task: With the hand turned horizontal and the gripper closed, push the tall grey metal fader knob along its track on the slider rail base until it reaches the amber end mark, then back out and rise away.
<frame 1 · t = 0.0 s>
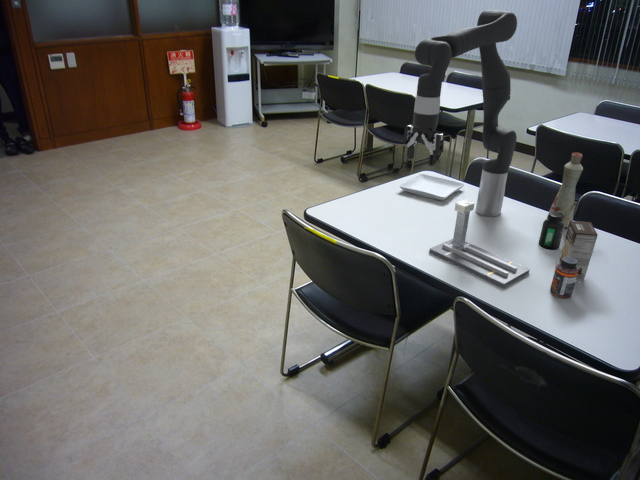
hand: (420, 161, 166), 29 cm above the table, tool pointing down, fingers open, 8 cm apart
supplement bottle: (548, 246, 181), on the table
fader: (461, 226, 170), point 10 cm above the table, slide at 0.0 cm
coffee box: (570, 273, 164), on the table
supplement bottle 2: (560, 294, 153), on the table
bottle: (558, 224, 197), on the table
slider rail base: (477, 262, 169), on the table
salad plate: (431, 192, 225), on the table
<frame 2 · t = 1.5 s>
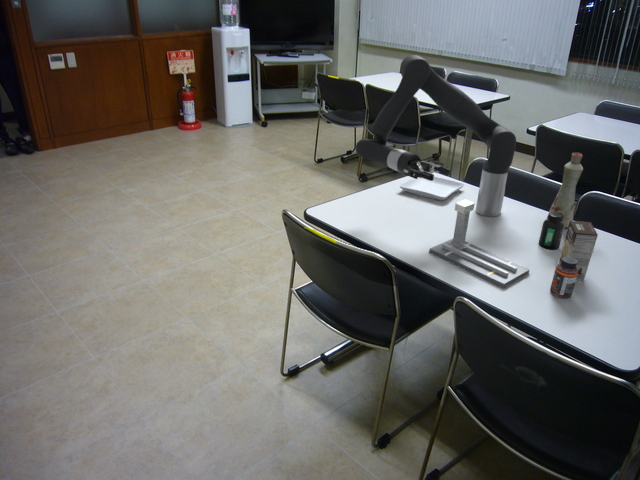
hand: (441, 175, 170), 24 cm above the table, tool horizontal, fingers open, 8 cm apart
nothing on the table moved.
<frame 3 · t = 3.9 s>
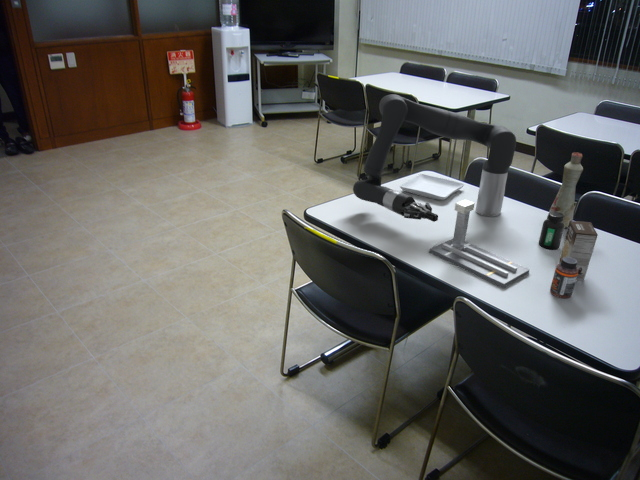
hand: (436, 218, 177), 9 cm above the table, tool horizontal, fingers closed
nothing on the table moved.
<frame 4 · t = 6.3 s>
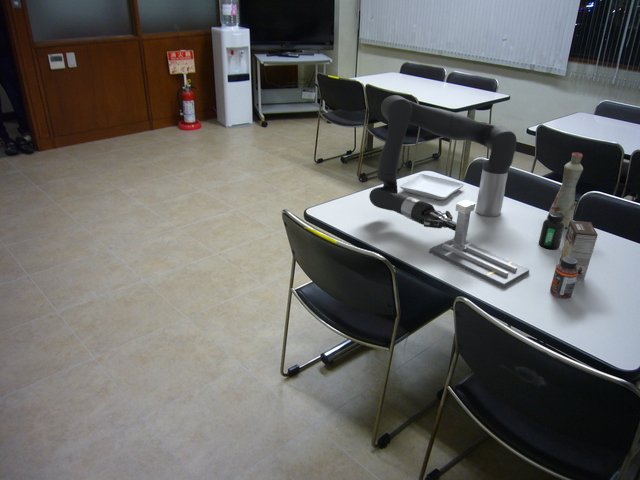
hand: (457, 227, 171), 9 cm above the table, tool horizontal, fingers closed
fader: (462, 226, 169), point 10 cm above the table, slide at 0.3 cm, touching gripper
everything else where it was.
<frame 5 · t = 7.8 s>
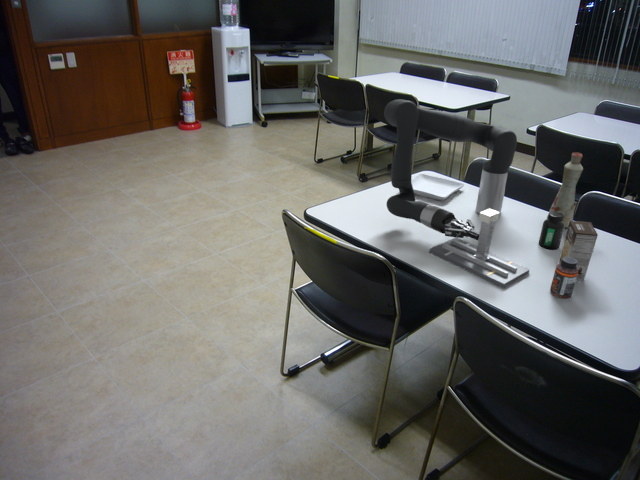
hand: (480, 237, 165), 9 cm above the table, tool horizontal, fingers closed
fader: (485, 236, 163), point 10 cm above the table, slide at 9.1 cm, touching gripper
everything else where it was.
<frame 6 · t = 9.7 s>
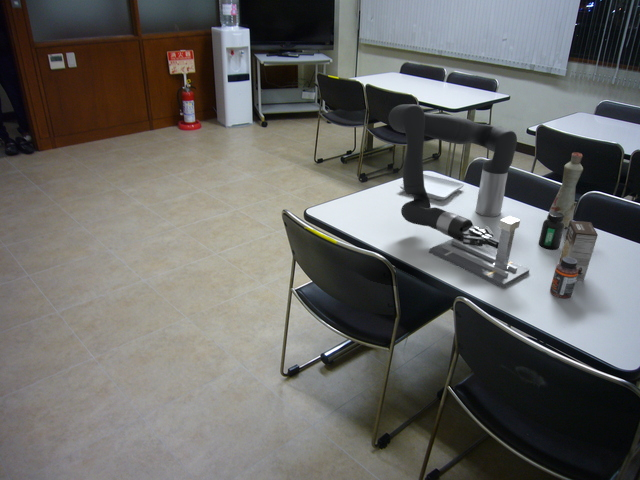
hand: (500, 245, 160), 9 cm above the table, tool horizontal, fingers closed
fader: (505, 244, 159), point 10 cm above the table, slide at 16.1 cm, touching gripper
everything else where it was.
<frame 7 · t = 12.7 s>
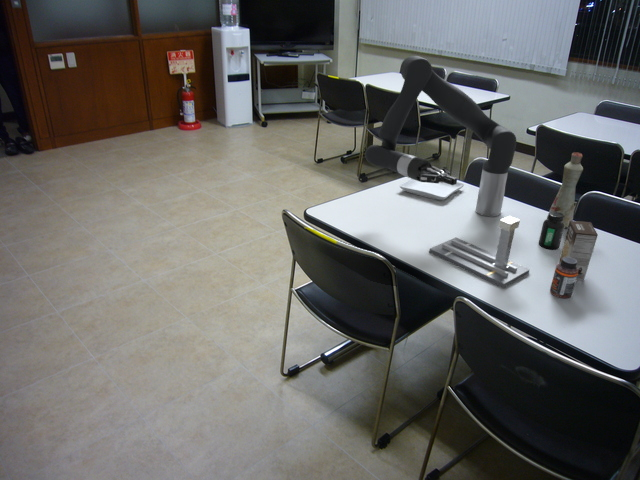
hand: (455, 181, 167), 24 cm above the table, tool horizontal, fingers closed
fader: (504, 244, 159), point 10 cm above the table, slide at 16.0 cm
everything else where it was.
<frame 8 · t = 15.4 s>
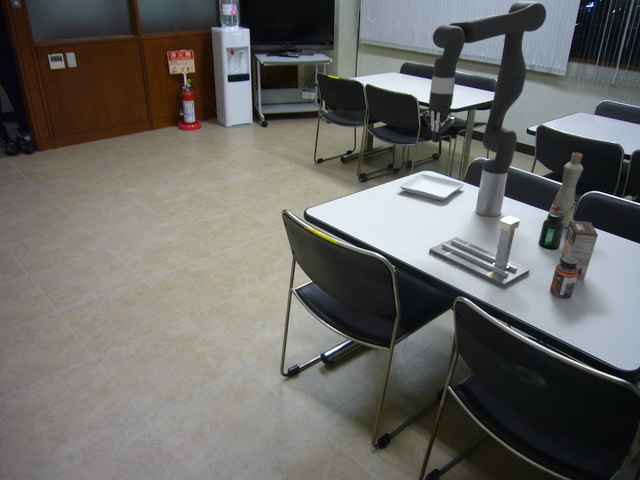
hand: (435, 141, 181), 31 cm above the table, tool pointing down, fingers closed
nothing on the table moved.
at the end: fader slide at 16.0 cm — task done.
